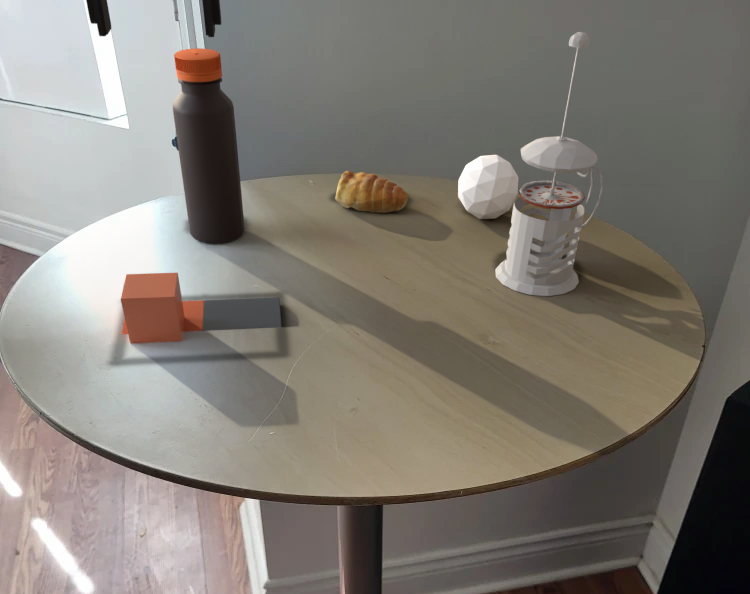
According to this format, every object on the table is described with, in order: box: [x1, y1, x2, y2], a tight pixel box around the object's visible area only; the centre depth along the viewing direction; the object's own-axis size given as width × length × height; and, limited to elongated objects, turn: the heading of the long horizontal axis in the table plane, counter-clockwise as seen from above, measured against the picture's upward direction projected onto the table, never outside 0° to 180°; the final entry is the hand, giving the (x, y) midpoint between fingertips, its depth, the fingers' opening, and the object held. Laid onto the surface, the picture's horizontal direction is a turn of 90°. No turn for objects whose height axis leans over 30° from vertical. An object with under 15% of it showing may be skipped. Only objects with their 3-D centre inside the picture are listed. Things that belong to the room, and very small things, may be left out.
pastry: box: [334, 170, 409, 214], centre depth 104 cm, size 9×7×4 cm
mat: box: [121, 297, 283, 335], centre depth 79 cm, size 16×12×1 cm
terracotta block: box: [120, 272, 185, 344], centre depth 77 cm, size 5×5×5 cm
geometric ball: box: [457, 154, 519, 220], centre depth 101 cm, size 8×8×8 cm
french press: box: [494, 31, 604, 297], centre depth 83 cm, size 10×12×25 cm
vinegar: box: [172, 47, 246, 245], centre depth 90 cm, size 7×7×20 cm
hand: (158, 33), depth 72 cm, fingers open, 9 cm apart
